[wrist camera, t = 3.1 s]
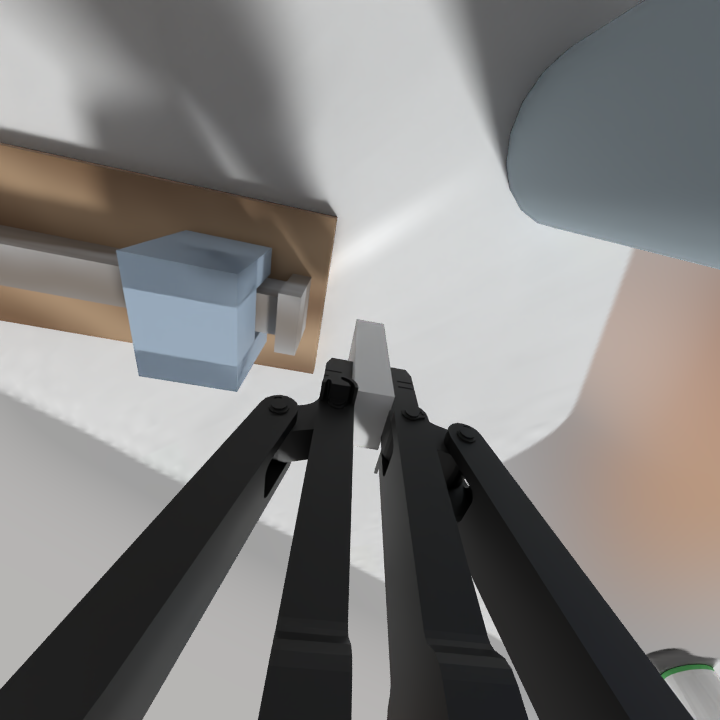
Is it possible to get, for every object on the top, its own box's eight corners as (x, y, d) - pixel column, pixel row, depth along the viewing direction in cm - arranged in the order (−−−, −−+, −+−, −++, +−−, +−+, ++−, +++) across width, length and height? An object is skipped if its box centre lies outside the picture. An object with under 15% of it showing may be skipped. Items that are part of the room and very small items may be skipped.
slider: (185, 230, 18) (116, 250, 13) (272, 247, 19) (237, 274, 14) (193, 328, 21) (139, 375, 16) (266, 341, 22) (236, 391, 17)
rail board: (-186, 101, 16) (-506, 56, 10) (337, 217, 19) (326, 234, 13) (-82, 298, 22) (-252, 343, 16) (314, 366, 25) (299, 428, 18)
